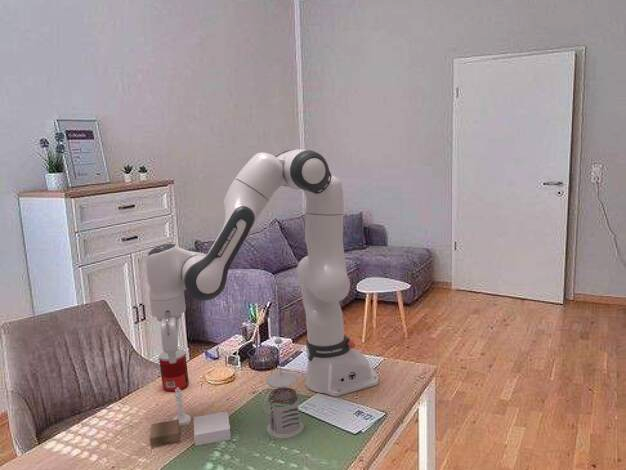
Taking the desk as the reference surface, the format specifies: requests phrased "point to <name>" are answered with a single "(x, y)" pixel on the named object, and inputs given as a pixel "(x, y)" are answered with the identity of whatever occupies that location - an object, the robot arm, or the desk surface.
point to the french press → (289, 421)
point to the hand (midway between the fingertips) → (173, 355)
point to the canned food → (174, 371)
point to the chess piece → (181, 409)
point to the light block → (211, 428)
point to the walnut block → (165, 433)
